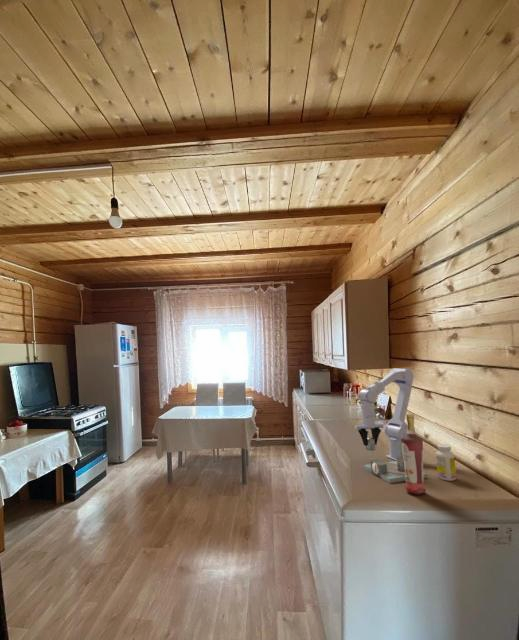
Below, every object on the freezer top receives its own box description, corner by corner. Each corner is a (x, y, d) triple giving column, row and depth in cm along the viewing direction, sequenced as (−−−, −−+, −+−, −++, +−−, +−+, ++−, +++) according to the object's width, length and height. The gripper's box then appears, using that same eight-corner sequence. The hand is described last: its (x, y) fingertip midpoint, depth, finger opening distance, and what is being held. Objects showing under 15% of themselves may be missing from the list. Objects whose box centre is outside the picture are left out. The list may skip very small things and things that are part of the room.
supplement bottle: (454, 476, 138) (451, 444, 140) (458, 482, 132) (455, 448, 133) (436, 474, 140) (434, 443, 142) (439, 480, 134) (436, 447, 136)
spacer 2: (404, 468, 143) (403, 456, 144) (411, 471, 139) (410, 458, 139) (395, 469, 142) (394, 457, 142) (402, 472, 138) (401, 460, 138)
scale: (398, 464, 155) (397, 452, 155) (427, 477, 137) (426, 464, 138) (363, 468, 150) (362, 456, 150) (388, 483, 132) (387, 469, 133)
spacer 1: (371, 447, 160) (371, 436, 160) (377, 450, 156) (376, 439, 156) (363, 448, 159) (363, 437, 159) (368, 450, 154) (368, 439, 155)
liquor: (431, 495, 120) (425, 415, 123) (413, 497, 119) (407, 417, 122) (417, 487, 127) (412, 412, 130) (400, 489, 126) (395, 413, 129)
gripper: (376, 412, 165) (378, 441, 163) (350, 414, 161) (352, 444, 159) (385, 415, 158) (387, 444, 156) (358, 417, 154) (360, 447, 153)
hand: (370, 444), depth 157 cm, fingers closed on spacer 1, 4 cm apart
